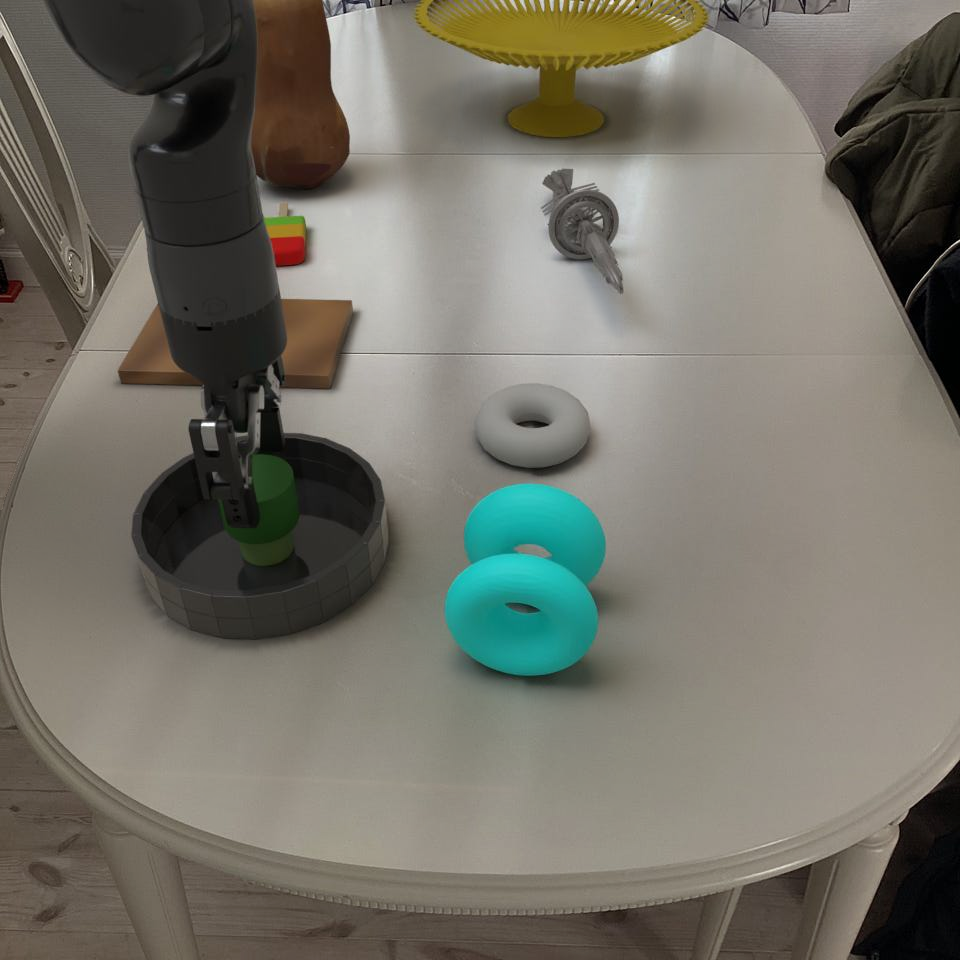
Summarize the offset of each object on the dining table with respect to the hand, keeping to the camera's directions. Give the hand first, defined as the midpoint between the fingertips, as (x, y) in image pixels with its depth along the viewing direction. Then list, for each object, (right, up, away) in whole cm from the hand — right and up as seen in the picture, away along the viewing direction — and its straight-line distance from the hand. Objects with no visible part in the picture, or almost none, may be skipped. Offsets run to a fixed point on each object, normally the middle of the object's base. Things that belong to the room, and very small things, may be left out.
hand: (258, 485), depth 74 cm
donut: (+21, +4, +15) cm, 26 cm away
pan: (0, -5, +4) cm, 7 cm away
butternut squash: (-7, +38, +57) cm, 69 cm away
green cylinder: (0, -5, +4) cm, 6 cm away
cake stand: (+27, +53, +74) cm, 95 cm away
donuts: (+19, -10, -2) cm, 22 cm away
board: (-7, +14, +27) cm, 31 cm away
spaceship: (+28, +25, +41) cm, 55 cm away
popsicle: (-7, +29, +45) cm, 54 cm away
